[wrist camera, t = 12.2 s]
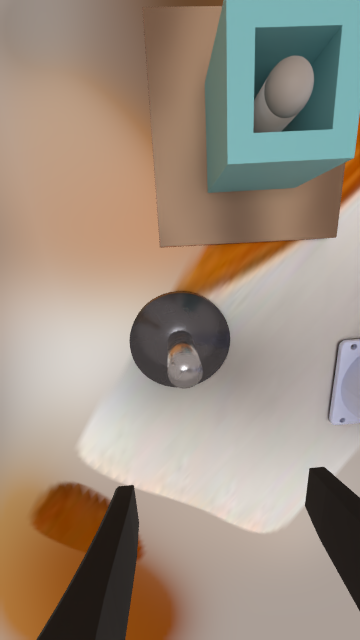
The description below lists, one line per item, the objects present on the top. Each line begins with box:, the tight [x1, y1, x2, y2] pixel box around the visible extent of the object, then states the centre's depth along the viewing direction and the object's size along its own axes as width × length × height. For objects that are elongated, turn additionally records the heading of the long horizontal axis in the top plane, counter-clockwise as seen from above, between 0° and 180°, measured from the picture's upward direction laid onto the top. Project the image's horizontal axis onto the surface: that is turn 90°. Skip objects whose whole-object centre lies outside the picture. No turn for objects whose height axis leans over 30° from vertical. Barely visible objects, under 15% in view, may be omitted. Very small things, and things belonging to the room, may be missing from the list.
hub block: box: [143, 6, 345, 247], centre depth 12 cm, size 12×12×6 cm
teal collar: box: [205, 0, 360, 193], centre depth 12 cm, size 6×6×5 cm
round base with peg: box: [130, 291, 230, 388], centre depth 16 cm, size 8×8×6 cm
